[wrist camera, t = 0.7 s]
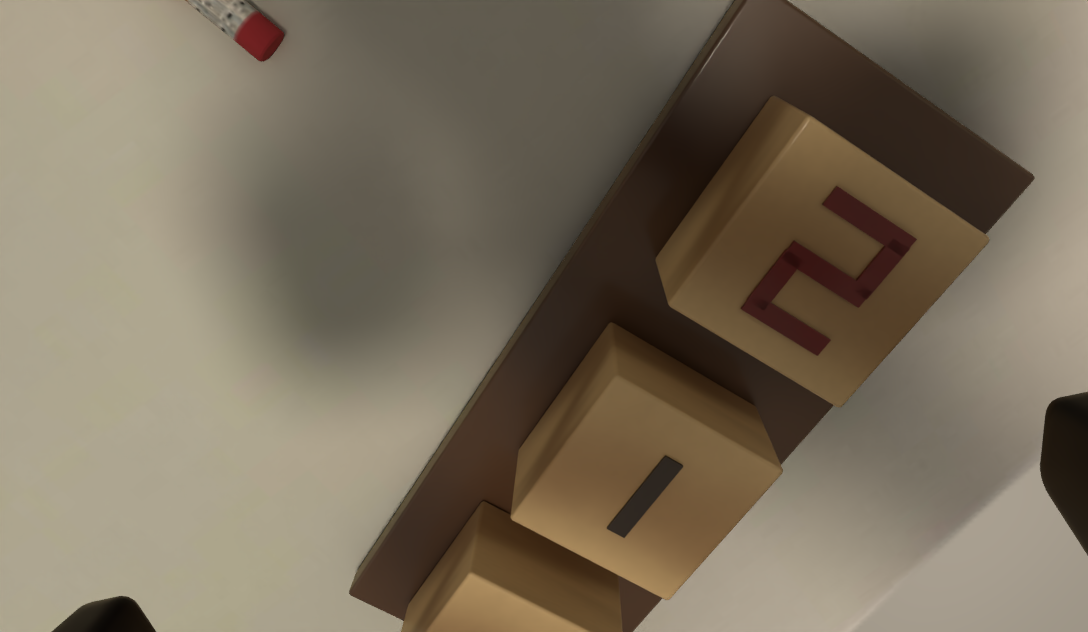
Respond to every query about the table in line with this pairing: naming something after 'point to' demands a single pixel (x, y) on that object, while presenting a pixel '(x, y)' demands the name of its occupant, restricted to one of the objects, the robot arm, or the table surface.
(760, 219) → the number block
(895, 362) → the table surface
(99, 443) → the table surface
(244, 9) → the pencil
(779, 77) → the strip
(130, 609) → the robot arm
